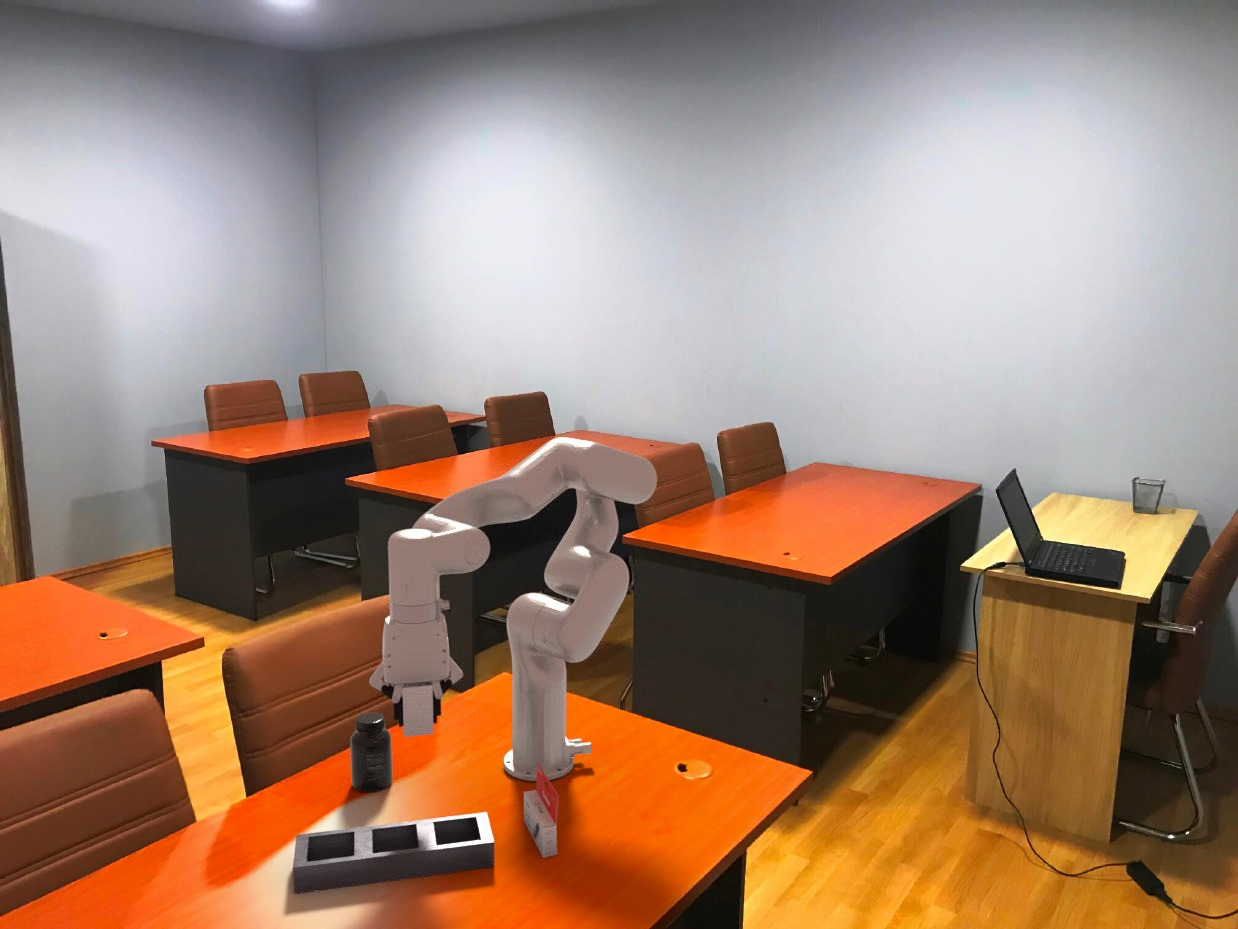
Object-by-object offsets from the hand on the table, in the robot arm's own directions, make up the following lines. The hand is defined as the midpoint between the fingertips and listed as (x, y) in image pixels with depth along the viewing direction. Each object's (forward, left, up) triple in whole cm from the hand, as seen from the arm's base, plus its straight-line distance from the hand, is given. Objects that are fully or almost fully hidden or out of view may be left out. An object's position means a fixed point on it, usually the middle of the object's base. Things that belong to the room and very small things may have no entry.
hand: (417, 720), depth 150 cm
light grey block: (0, 0, -1) cm, 1 cm away
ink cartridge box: (-18, +9, -17) cm, 27 cm away
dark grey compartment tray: (+4, +11, -17) cm, 21 cm away
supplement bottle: (+7, -14, -17) cm, 23 cm away
